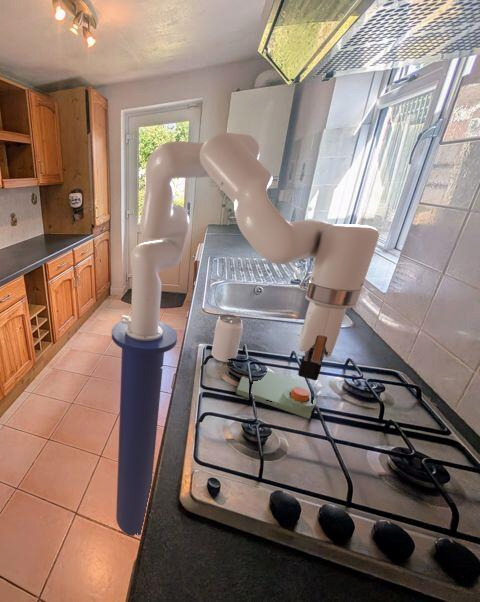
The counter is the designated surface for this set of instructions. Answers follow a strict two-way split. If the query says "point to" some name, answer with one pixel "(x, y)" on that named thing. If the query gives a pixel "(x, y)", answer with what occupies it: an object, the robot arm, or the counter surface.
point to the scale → (278, 393)
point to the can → (227, 337)
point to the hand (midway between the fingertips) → (307, 376)
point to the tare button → (300, 394)
